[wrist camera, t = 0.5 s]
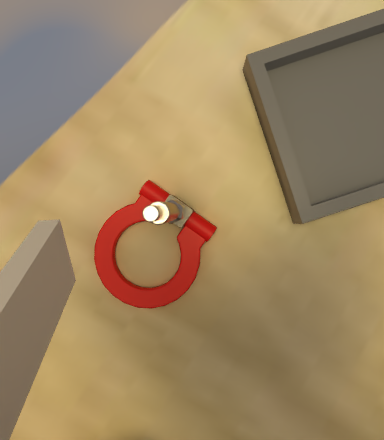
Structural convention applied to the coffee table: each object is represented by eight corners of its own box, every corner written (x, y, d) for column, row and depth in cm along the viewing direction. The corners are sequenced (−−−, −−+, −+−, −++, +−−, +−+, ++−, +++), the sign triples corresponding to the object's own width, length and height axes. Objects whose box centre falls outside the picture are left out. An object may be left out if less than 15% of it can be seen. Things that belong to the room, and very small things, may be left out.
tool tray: (474, 164, 27) (502, 158, 25) (293, 223, 28) (302, 223, 25) (422, 9, 27) (444, -12, 25) (242, 69, 28) (246, 55, 25)
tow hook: (161, 324, 28) (227, 232, 28) (120, 421, 16) (239, 254, 15) (79, 265, 29) (142, 173, 28) (-29, 312, 16) (83, 144, 15)
